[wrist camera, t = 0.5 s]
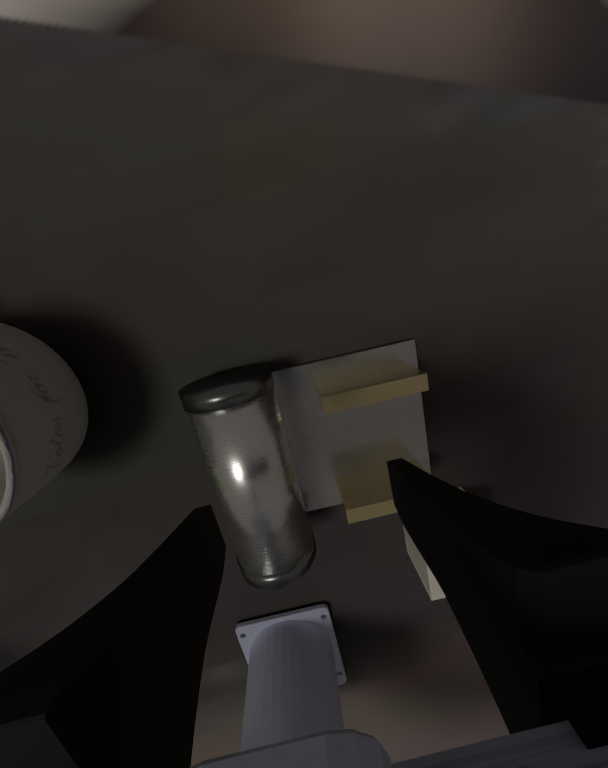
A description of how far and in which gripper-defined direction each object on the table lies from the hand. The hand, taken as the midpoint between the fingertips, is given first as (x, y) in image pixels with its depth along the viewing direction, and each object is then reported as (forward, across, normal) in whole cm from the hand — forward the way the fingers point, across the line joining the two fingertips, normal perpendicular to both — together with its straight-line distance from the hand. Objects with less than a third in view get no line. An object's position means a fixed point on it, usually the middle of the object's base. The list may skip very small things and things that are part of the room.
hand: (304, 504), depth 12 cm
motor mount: (+10, -1, +2) cm, 10 cm away
